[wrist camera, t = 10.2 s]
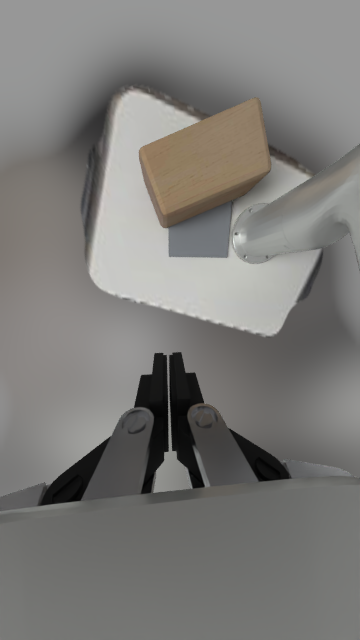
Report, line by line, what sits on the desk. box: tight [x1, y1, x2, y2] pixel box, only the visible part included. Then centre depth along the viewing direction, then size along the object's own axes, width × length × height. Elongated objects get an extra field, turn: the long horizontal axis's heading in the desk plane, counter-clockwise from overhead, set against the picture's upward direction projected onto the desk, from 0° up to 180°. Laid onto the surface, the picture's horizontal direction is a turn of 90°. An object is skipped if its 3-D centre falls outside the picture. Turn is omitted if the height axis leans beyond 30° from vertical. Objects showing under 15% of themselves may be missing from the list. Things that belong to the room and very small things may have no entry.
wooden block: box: [139, 98, 271, 228], centre depth 31 cm, size 10×10×20 cm
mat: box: [169, 200, 232, 258], centre depth 38 cm, size 14×16×1 cm
